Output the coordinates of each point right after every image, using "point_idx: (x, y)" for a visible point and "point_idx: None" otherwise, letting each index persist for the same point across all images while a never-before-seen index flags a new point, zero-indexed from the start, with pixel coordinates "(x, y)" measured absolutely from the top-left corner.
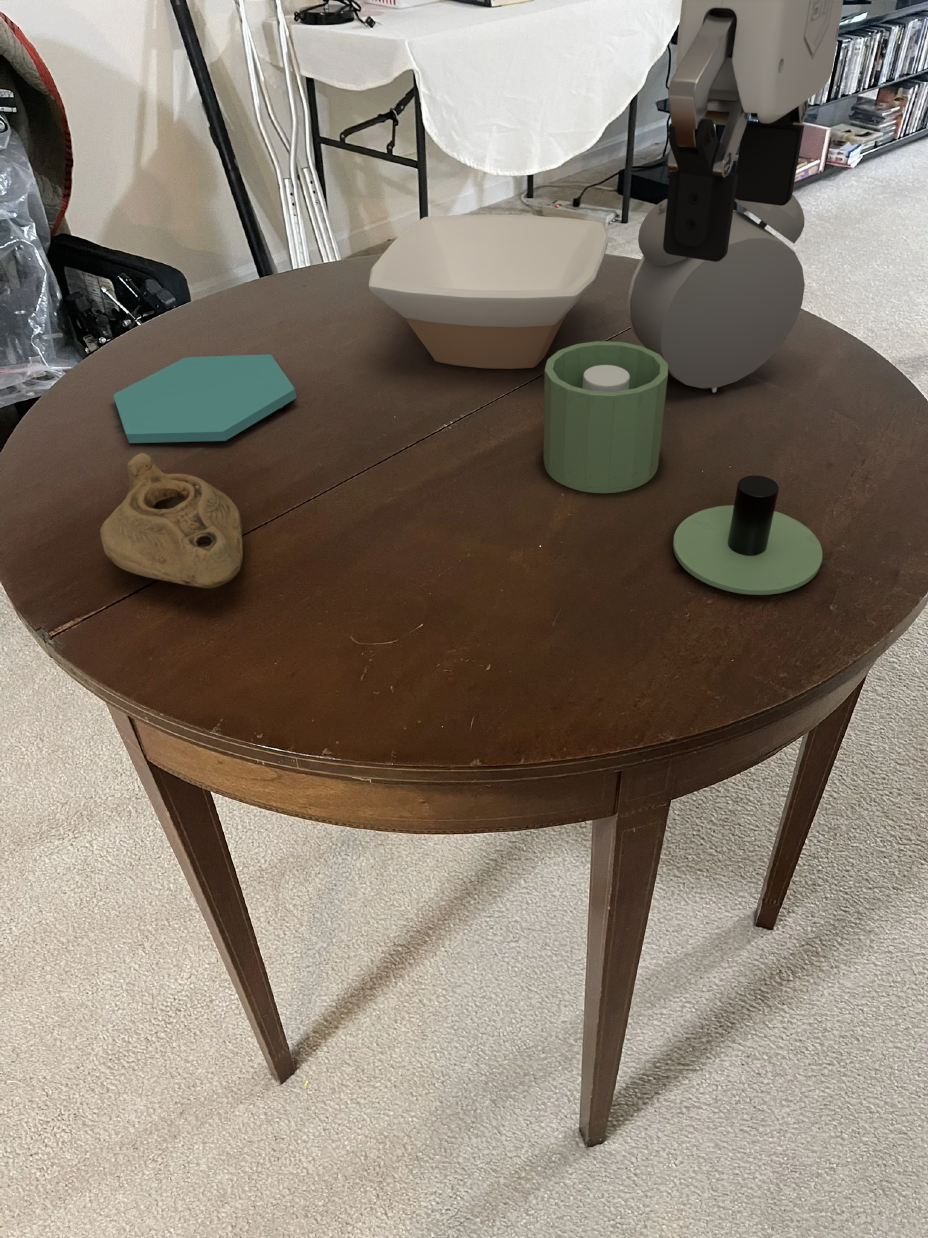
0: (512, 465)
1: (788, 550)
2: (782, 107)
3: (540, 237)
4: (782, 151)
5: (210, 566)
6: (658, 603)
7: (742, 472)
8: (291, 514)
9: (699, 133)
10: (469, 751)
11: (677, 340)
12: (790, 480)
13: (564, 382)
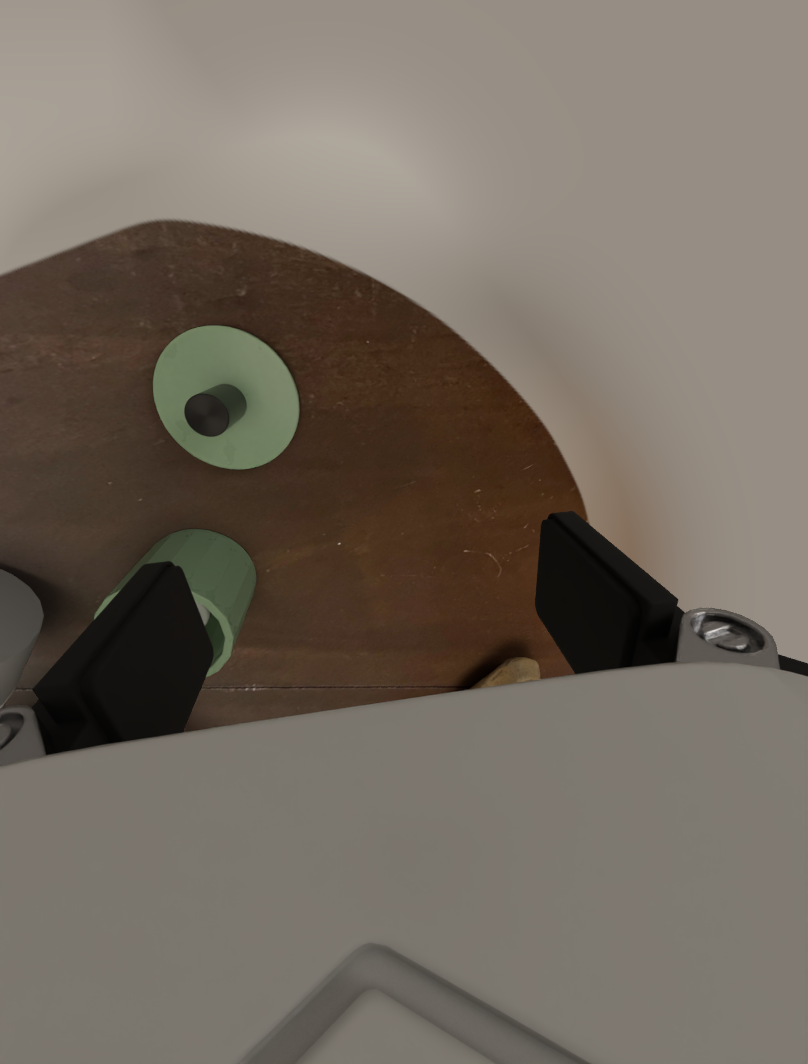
0: (262, 622)
1: (206, 364)
2: (708, 686)
3: None
4: (135, 661)
5: (532, 670)
6: (341, 430)
7: (108, 468)
8: (417, 683)
9: None
10: (550, 452)
11: (13, 627)
12: (78, 422)
13: (225, 646)
